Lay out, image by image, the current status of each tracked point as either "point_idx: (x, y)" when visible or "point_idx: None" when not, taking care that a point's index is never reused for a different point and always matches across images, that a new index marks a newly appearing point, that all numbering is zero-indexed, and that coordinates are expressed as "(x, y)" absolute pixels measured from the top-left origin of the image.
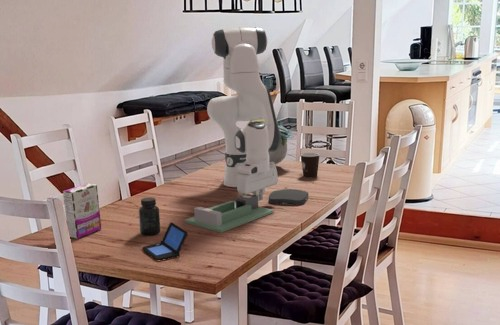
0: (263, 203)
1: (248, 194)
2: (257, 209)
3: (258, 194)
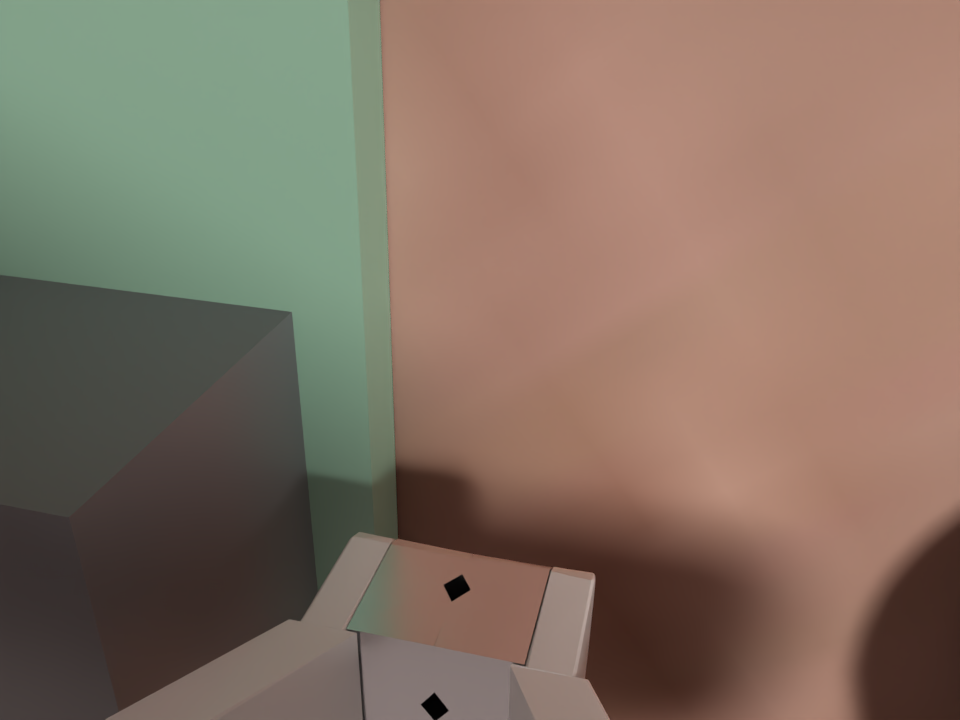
0: (901, 411)
1: (36, 562)
2: None
3: (517, 687)
